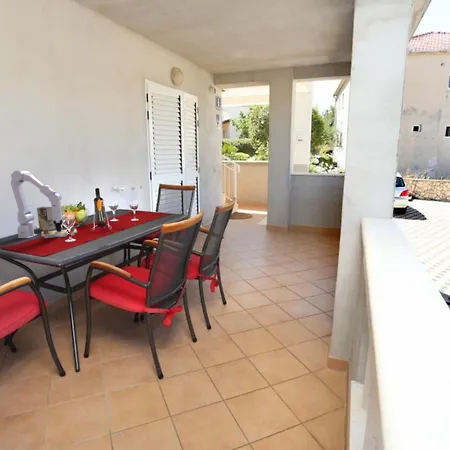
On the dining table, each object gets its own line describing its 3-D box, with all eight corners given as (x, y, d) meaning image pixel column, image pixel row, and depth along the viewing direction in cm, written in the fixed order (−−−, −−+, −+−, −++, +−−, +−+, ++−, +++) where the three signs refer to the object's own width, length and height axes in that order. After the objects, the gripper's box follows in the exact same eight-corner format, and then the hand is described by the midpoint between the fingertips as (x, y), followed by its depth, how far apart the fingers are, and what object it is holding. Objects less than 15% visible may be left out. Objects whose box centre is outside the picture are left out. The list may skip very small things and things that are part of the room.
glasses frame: (44, 238, 224) (43, 229, 223) (44, 237, 228) (43, 228, 226) (74, 235, 231) (73, 226, 230) (74, 234, 235) (73, 225, 234)
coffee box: (55, 228, 251) (53, 207, 248) (49, 230, 245) (46, 208, 242) (45, 227, 254) (43, 206, 250) (39, 229, 248) (36, 207, 244)
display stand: (41, 236, 228) (40, 230, 227) (41, 233, 237) (41, 227, 236) (76, 233, 238) (76, 227, 237) (76, 230, 246) (75, 224, 245)
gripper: (63, 212, 221) (65, 232, 224) (63, 209, 234) (65, 228, 237) (51, 213, 218) (53, 234, 221) (51, 209, 231) (54, 229, 234)
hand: (59, 231), depth 229 cm, fingers open, 3 cm apart
